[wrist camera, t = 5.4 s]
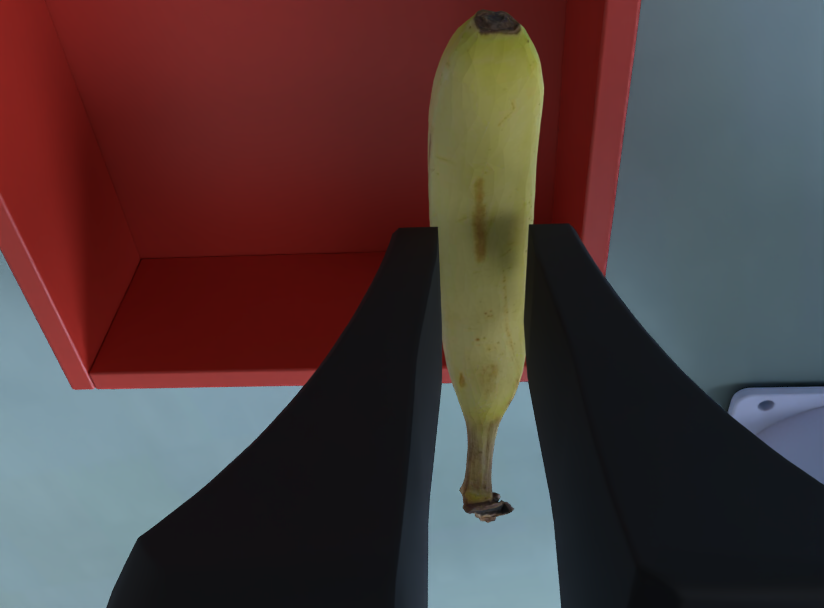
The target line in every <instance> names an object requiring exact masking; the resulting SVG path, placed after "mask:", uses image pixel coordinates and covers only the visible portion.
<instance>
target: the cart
mask: <svg viewBox="0 0 824 608" xmlns="http://www.w3.org/2000/svg"><path fill="white" fill-rule="evenodd" d="M640 7H641V0H0V250H1V252H2V253H3V255H4V257H5V259H6V261H7V263H8V265H9V267H10V269H11V271H12V273H13V275H14V277H15V279H16V281H17V283H18V284H19V286H20V288H21V290H22V292H23V294H24V296H25V298H26V300H27V302H28V304H29V306H30V308H31V310H32V312H33V314H34V315H35V317H36V319H37V321H38V323H39V325H40V327H41V329H42V331H43V333H44V335H45V337H46V339H47V341H48V343H49V345H50V347H51V348H52V350H53V352H54V354H55V356H56V358H57V360H58V362H59V364H60V366H61V368H62V370H63V372H64V374H65V376H66V378H67V379H68V381H69V383H70V385H71V387H72V389H75V390H77V389H94V388H97V389H134V388H192V387H250V386H304V385H305V384H306V382H307V381H308V380H309V379H310V377H311V376H312V375H313V374H314V372H315V371H316V370H317V368H318V367H319V366H320V364H321V363H322V362H323V360H324V359H325V357H326V356H327V355H328V353H329V352H330V350H331V349H332V347H333V346H334V344H335V343H336V341H337V340H338V338H339V337H340V335H341V334H342V332H343V331H344V329H345V327H346V326H347V324H348V323H349V321H350V320H351V318H352V317H353V315H354V313H355V311H356V310H357V308H358V306H359V304H360V303H361V301H362V299H363V297H364V295H365V294H366V292H367V290H368V288H369V286H370V285H371V283H372V281H373V279H374V277H375V275H376V273H377V271H378V269H379V267H380V264H381V262H382V260H383V258H384V255H385V253H386V250H387V248H388V245H389V243H390V240H391V236H392V234H393V233H394V232H395V231H396V230H397V229H398V228H404V227H430V220H429V193H428V127H429V122H428V119H429V106H430V99H431V93H432V87H433V81H434V78H435V74H436V70H437V68H438V65H439V62H440V59H441V57H442V54H443V52H444V50H445V48H446V46H447V44H448V42H449V40H450V38H451V37H452V36H453V34H454V33H455V31H456V30H457V29H458V28H459V27H460V26H461V25H462V24H464V23H465V22H466V21H467V20H468V19H470V18H471V17H472V16H473V15H474V14H475V13H476V12H477V11H479V10H482V9H484V10H489V11H495V12H497V11H505V12H507V13H508V14H510V15H511V16H512V17H513V18H514V19H515V20H516V21H517V22H518V23H520V24H521V25H522V26H523V27H524V28H525V30H526V32H527V33H528V35H529V37H530V39H531V41H532V42H533V44H534V46H535V48H536V51H537V53H538V55H539V59H540V63H541V69H542V76H543V83H544V96H543V108H542V116H541V123H540V133H539V143H538V153H537V165H536V184H535V202H534V220H533V224H563V223H569V224H570V225H571V226H572V227H573V228H574V229H575V230H576V232H577V234H578V235H579V237H580V239H581V241H582V242H583V244H584V246H585V247H586V249H587V251H588V252H589V254H590V255H591V257H592V258H593V260H594V262H595V263H596V265H597V266H598V268H599V269H600V270H601V272H602V273H603V275H604V276H605V275H606V267H607V259H608V252H609V244H610V236H611V229H612V221H613V213H614V206H615V198H616V190H617V183H618V175H619V167H620V160H621V152H622V144H623V137H624V129H625V121H626V114H627V106H628V98H629V91H630V83H631V75H632V68H633V60H634V52H635V45H636V37H637V29H638V22H639V14H640ZM520 382H528V378H527V365H526V356H525V362H524V368H523V373H522V376H521V379H520ZM442 383H452V381H451V379H450V376H449V372H448V369H447V365H446V360H445V354H444V349H443V342H442Z"/></svg>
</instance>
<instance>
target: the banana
mask: <svg viewBox="0 0 824 608" xmlns="http://www.w3.org/2000/svg"><path fill="white" fill-rule="evenodd" d="M543 96H544V83H543V76H542V69H541V63H540V59H539V55H538V53H537V51H536V48H535V46H534V44H533V42H532V41H531V39H530V37H529V35H528V33H527V32H526V30H525V28H524V27H523V26H522V25H521V24H520V23H518V22H517V21H516V20H515V19H514V18H513V17H512V16H511V15H510V14H508V13H507V12H505V11H497V12H495V11H489V10H484V9H482V10H479V11H477V12H476V13H475V14H474V15H473V16H472V17H471V18H470V19H468V20H467V21H466V22H465V23H464V24H462V25H461V26H460V27H459V28H458V29H457V30H456V31H455V33H454V34H453V36H452V37H451V38H450V40H449V42H448V44H447V46H446V48H445V50H444V52H443V54H442V57H441V59H440V62H439V65H438V68H437V70H436V74H435V78H434V81H433V87H432V93H431V99H430V106H429V119H428V122H429V127H428V193H429V220H430V227H438V238H439V262H440V287H441V312H442V342H443V349H444V354H445V360H446V365H447V369H448V372H449V376H450V379H451V381H452V384H453V387H454V389H455V392H456V395H457V397H458V401H459V403H460V406H461V409H462V412H463V415H464V418H465V421H466V426H467V434H468V453H467V464H466V473H465V479H464V482H463V484H462V486H461V488H460V490H459V491H460V492H461V494H462V496H463V503H464V505H463V509H464V510H465V512H466V513H469V514H471V513H475V516H476V517H477V518H479V519H480V520H481V521H486V522H487V523H489V522H491V521H495V519H496V517H497V516H501V515H505V514H508V513H510V512H512V511H513V510H514V508H512V507H511V505H510V504H509V503H508V502H504V501H502V500H501V501H500V502H498V501H499V499H500V495H499V494H497V493H494V492H493V493H492V484H491V469H492V457H493V450H494V444H495V438H496V434H497V430H498V427H499V423H500V421H501V419H502V417H503V415H504V413H505V411H506V410H507V408H508V406H509V404H510V403H511V401H512V399H513V398H514V395H515V393H516V390H517V388H518V385H519V382H520V379H521V376H522V373H523V368H524V362H525V356H526V352H525V337H524V322H523V321H524V303H525V285H526V266H527V248H528V229H529V224H533V220H534V202H535V184H536V165H537V153H538V143H539V133H540V123H541V116H542V108H543Z"/></svg>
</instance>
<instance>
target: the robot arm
mask: <svg viewBox="0 0 824 608" xmlns="http://www.w3.org/2000/svg"><path fill="white" fill-rule="evenodd" d="M523 322H524V337H525V352H526V365H527V378H528V383H529V389H530V394H531V399H532V405H533V410H534V415H535V421H536V426H537V431H538V436H539V441H540V447H541V452H542V457H543V462H544V467H545V473H546V478H547V483H548V488H549V493H550V499H551V506H552V513H553V520H554V529H555V540H556V552H557V563H558V574H559V586H560V598H561V608H824V387H763V388H744V389H742V390H739V391H738V392H737V393H735V394H734V396H733V397H732V400H731V403H730V406H729V410H728V413H727V412H726V411H725V410H724V409H723V408H721V407H720V406H719V405H718V404H717V403H716V402H715V401H714V400H712V399H711V398H710V397H709V396H708V395H707V394H706V393H705V392H704V391H703V390H702V389H701V388H700V387H699V386H698V385H697V384H695V383H694V382H693V381H692V380H691V379H690V378H689V377H688V376H687V375H686V374H685V373H684V372H683V371H682V370H681V369H680V368H679V367H678V366H677V365H676V363H675V362H674V361H673V360H672V359H671V358H670V357H669V356H668V355H667V354H666V353H665V352H664V351H663V349H662V348H661V347H660V346H659V345H658V344H657V343H656V341H655V340H654V339H653V338H652V337H651V336H650V335H649V333H648V332H647V331H646V330H645V329H644V328H643V326H642V325H641V324H640V323H639V321H638V320H637V319H636V318H635V317H634V315H633V314H632V313H631V311H630V310H629V309H628V307H627V306H626V305H625V303H624V302H623V301H622V300H621V298H620V297H619V296H618V294H617V293H616V292H615V290H614V289H613V288H612V286H611V285H610V283H609V282H608V281H607V279H606V278H605V276H604V275H603V273H602V272H601V270H600V269H599V268H598V266H597V265H596V263H595V262H594V260H593V258H592V257H591V255H590V254H589V252H588V251H587V249H586V247H585V246H584V244H583V242H582V241H581V239H580V237H579V235H578V234H577V232H576V230H575V229H574V228H573V227H572V226H571V225H570V224H569V223H563V224H529V229H528V248H527V266H526V285H525V303H524V321H523ZM441 385H442V312H441V287H440V262H439V238H438V227H404V228H398V229H397V230H396V231H395V232H394V233H393V234H392V236H391V240H390V243H389V245H388V248H387V250H386V253H385V255H384V258H383V260H382V262H381V264H380V267H379V269H378V271H377V273H376V275H375V277H374V279H373V281H372V283H371V285H370V286H369V288H368V290H367V292H366V294H365V295H364V297H363V299H362V301H361V303H360V304H359V306H358V308H357V310H356V311H355V313H354V315H353V317H352V318H351V320H350V321H349V323H348V324H347V326H346V327H345V329H344V331H343V332H342V334H341V335H340V337H339V338H338V340H337V341H336V343H335V344H334V346H333V347H332V349H331V350H330V352H329V353H328V355H327V356H326V357H325V359H324V360H323V362H322V363H321V364H320V366H319V367H318V368H317V370H316V371H315V372H314V374H313V375H312V376H311V377H310V379H309V380H308V381H307V382H306V384H305V385H304V386H303V387H302V389H301V390H300V391H299V392H298V394H297V395H296V396H295V397H294V398H293V400H292V401H291V402H290V403H289V404H288V405H287V406H286V407H285V408H284V410H283V411H282V412H281V413H280V414H279V415H278V416H277V417H276V418H275V420H274V421H273V422H272V423H271V424H270V425H269V426H268V427H267V428H266V429H265V430H264V431H263V432H262V433H261V434H260V436H259V437H258V438H257V439H256V440H255V441H254V442H253V443H252V444H251V445H250V446H248V447H247V448H246V449H245V450H244V451H243V452H242V453H241V454H240V455H239V456H238V457H236V458H235V459H234V460H233V461H232V462H231V463H230V464H229V465H228V466H227V467H226V468H224V469H223V470H222V471H221V472H220V473H219V474H218V475H217V476H216V477H215V478H214V479H213V480H211V481H210V482H209V483H208V484H207V485H206V486H205V487H203V488H202V489H201V490H200V491H199V492H197V493H196V494H195V495H194V496H192V497H191V498H190V499H189V500H187V501H186V502H185V503H183V504H182V505H181V506H180V507H178V508H177V509H176V510H174V511H173V512H172V513H171V514H169V515H168V516H167V517H165V518H164V519H163V520H161V521H160V522H159V523H158V524H156V525H155V526H154V527H152V528H151V529H150V530H148V531H147V532H146V533H144V534H143V535H141V536H140V537H139V538H138V539H137V541H136V543H135V545H134V547H133V549H132V551H131V553H130V555H129V557H128V559H127V561H126V563H125V565H124V567H123V570H122V572H121V574H120V576H119V578H118V580H117V582H116V584H115V586H114V589H113V591H112V594H111V596H110V599H109V602H108V605H107V608H428V519H429V502H430V491H431V481H432V472H433V462H434V453H435V443H436V434H437V424H438V415H439V405H440V395H441Z"/></svg>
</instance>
